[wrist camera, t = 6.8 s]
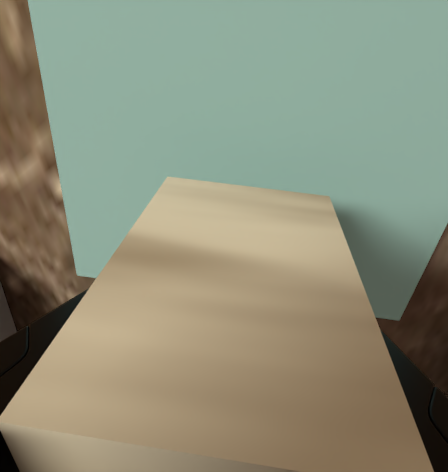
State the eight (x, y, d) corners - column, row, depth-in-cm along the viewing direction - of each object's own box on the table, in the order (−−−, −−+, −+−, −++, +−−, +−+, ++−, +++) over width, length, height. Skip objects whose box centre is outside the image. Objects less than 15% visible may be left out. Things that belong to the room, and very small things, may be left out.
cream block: (296, 315, 12) (328, 617, 6) (167, 297, 12) (65, 568, 6) (329, 196, 9) (442, 494, 3) (167, 176, 9) (-4, 421, 3)
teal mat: (394, 310, 15) (399, 320, 14) (83, 267, 15) (77, 275, 15) (561, -41, 8) (580, -46, 8) (25, -87, 9) (10, -95, 9)
